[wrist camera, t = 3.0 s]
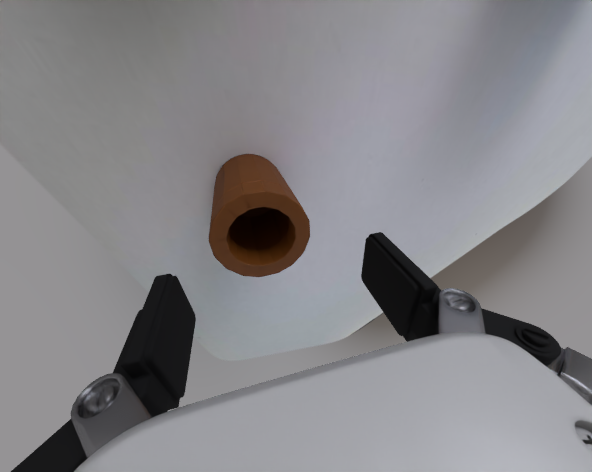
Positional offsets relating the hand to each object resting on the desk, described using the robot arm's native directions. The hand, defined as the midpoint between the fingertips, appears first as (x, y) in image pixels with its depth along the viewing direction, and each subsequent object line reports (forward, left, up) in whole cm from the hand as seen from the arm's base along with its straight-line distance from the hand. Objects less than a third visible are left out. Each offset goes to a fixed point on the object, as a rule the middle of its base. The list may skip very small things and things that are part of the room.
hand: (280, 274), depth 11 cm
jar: (0, 0, -13) cm, 13 cm away
